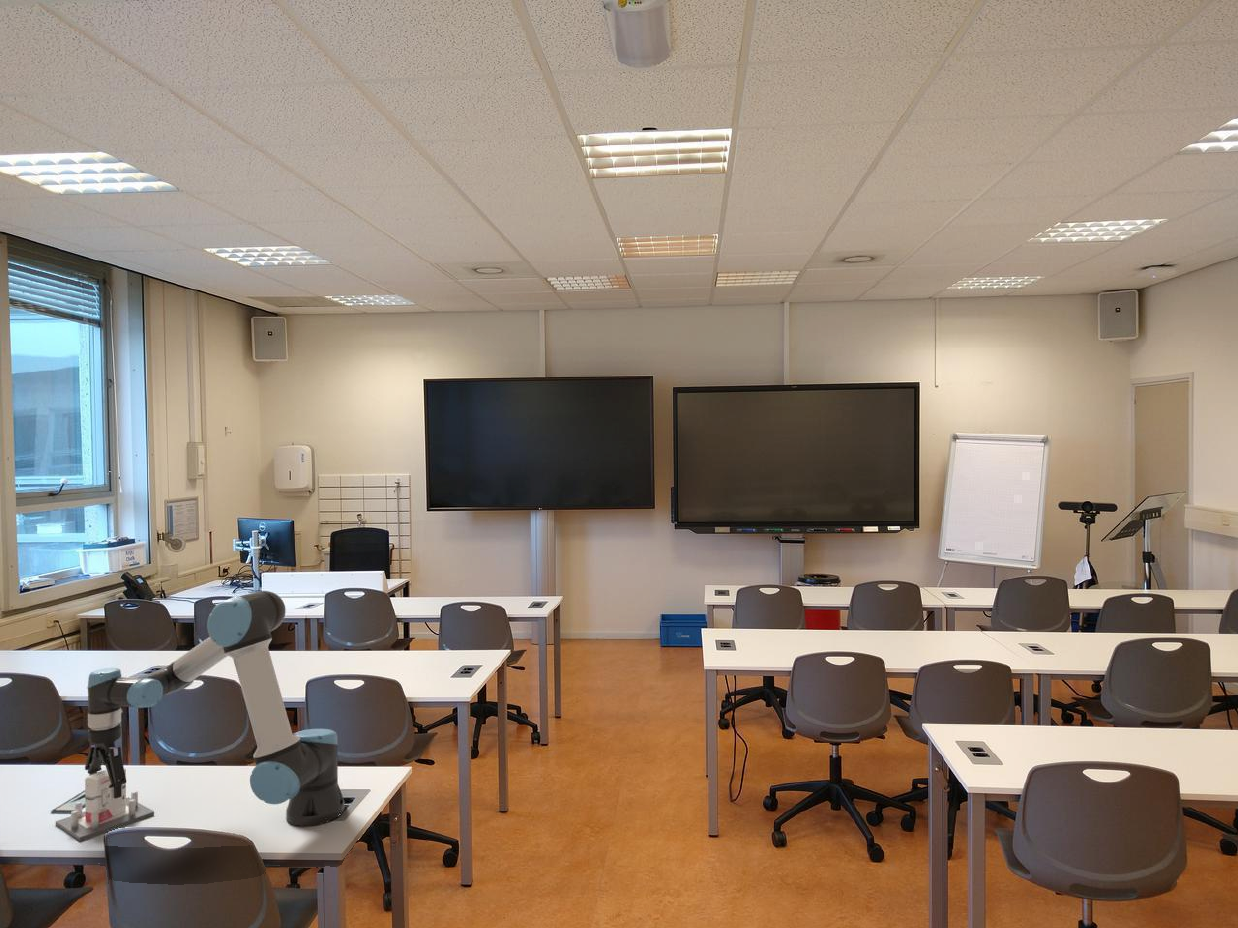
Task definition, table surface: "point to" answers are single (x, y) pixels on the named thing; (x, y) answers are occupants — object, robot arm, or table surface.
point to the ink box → (101, 796)
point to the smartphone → (70, 804)
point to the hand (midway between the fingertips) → (105, 802)
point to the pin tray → (85, 830)
